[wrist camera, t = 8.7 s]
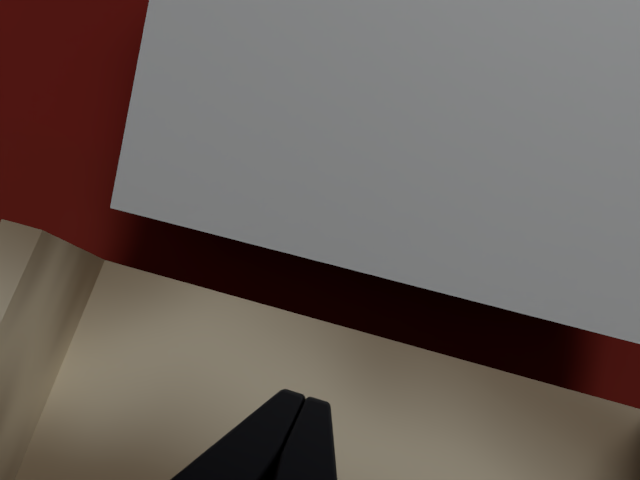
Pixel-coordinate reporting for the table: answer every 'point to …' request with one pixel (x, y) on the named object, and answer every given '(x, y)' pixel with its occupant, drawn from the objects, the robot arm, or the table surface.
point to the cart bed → (257, 384)
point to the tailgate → (404, 142)
